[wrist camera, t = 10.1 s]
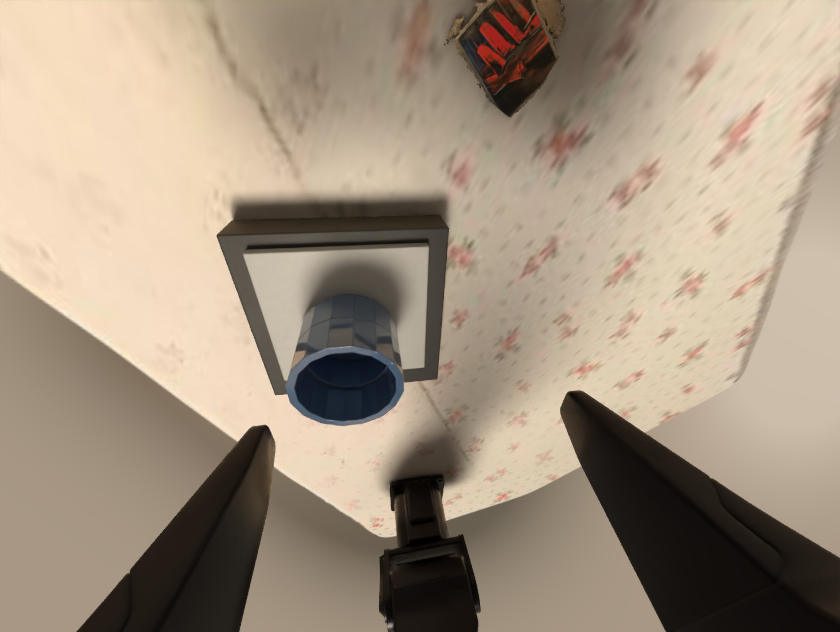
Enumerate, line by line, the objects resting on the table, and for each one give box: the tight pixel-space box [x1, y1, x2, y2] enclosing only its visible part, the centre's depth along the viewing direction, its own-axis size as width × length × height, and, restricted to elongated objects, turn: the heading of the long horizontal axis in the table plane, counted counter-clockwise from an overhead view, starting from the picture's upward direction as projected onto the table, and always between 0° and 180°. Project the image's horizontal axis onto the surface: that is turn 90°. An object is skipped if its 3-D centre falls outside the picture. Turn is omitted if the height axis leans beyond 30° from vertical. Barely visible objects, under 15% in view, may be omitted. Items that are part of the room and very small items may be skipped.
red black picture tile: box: [444, 0, 566, 117], centre depth 14 cm, size 5×5×1 cm
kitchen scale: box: [217, 215, 449, 395], centre depth 20 cm, size 12×12×3 cm
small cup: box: [285, 294, 404, 426], centre depth 17 cm, size 6×6×5 cm
